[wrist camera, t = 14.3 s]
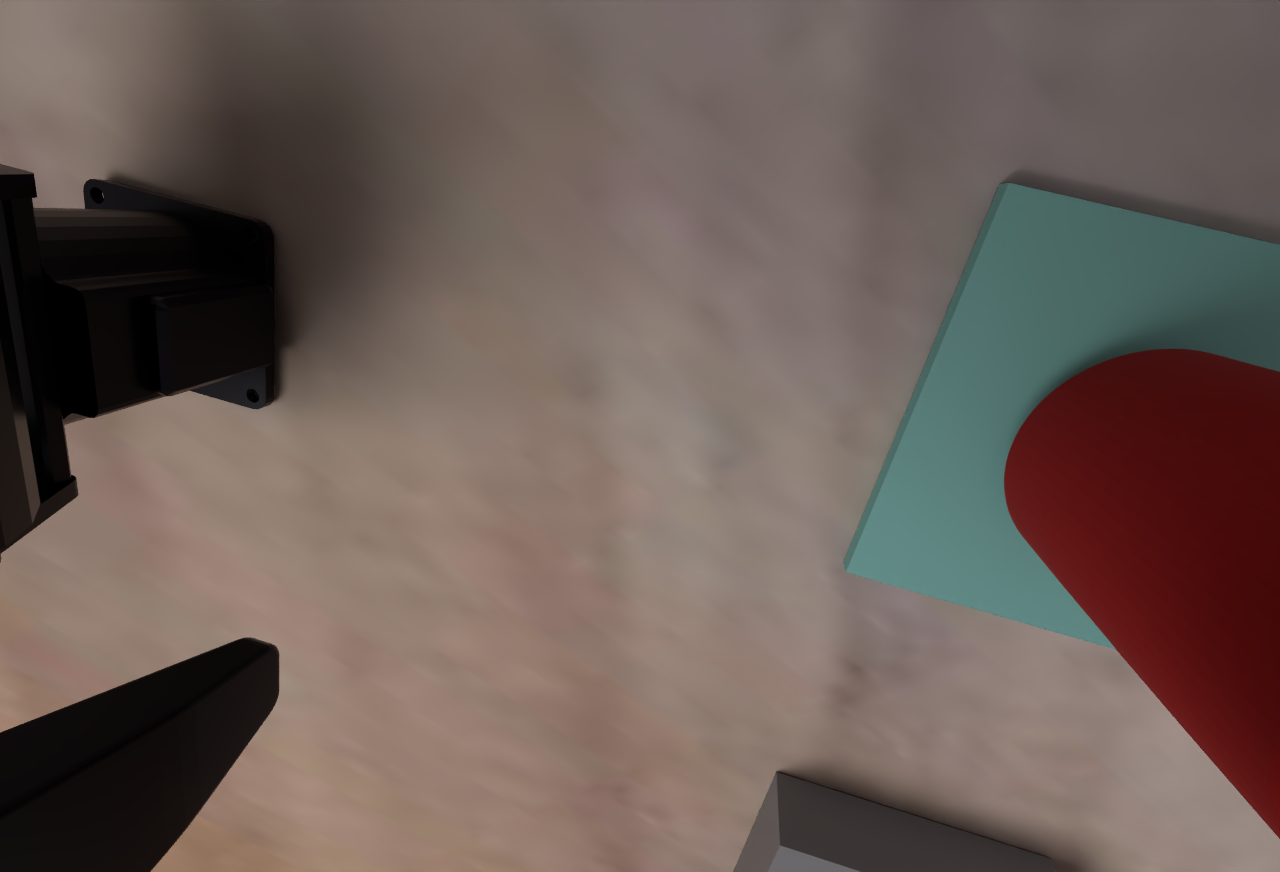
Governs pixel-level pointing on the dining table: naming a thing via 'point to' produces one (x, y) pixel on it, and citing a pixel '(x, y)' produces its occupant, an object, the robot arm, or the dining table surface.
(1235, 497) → the beverage can
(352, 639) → the dining table surface
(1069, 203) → the teal mat
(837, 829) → the can holder
